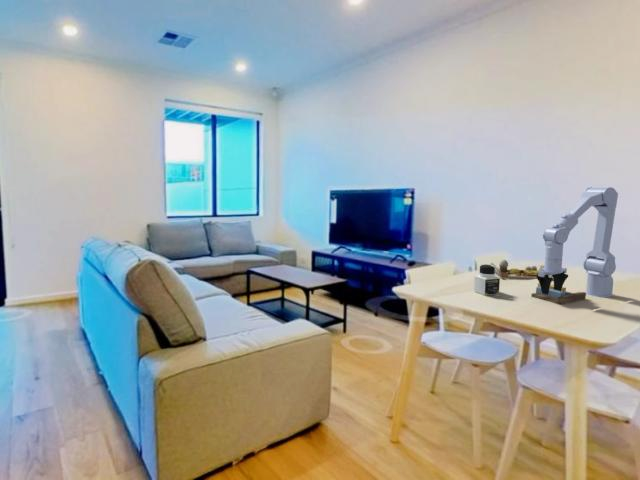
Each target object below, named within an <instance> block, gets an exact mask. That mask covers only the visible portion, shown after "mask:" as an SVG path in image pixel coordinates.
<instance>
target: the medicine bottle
mask: <svg viewBox="0 0 640 480" xmlns="http://www.w3.org/2000/svg"><path fill="white" fill-rule="evenodd" d="M495 266H496V265H495ZM495 266H493V265H491V264H481V265H480V266H479V274H476V275H474V284H473V285H474V286H473V291H474V293H477V294H480V295H482V296H485V297H486V296H494V295H495V296H497V295H498V294H499V293H500V280H501V279H500V278H501V277H498V276H496V272H495V269H496V268H495Z"/></svg>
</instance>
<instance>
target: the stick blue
mask: <svg viewBox="0 0 640 480" xmlns="http://www.w3.org/2000/svg"><path fill="white" fill-rule="evenodd" d="M566 292H567V291H566ZM566 292H562V291H558V290H554V289H549V293H548V295H546V294H542V291H541V287H538V286H537V287H536V288H535V293H536V294H540V295H544V296H548V297H552V298H556V299H558V297H562V296H563V295H566Z"/></svg>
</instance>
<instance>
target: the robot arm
mask: <svg viewBox="0 0 640 480" xmlns="http://www.w3.org/2000/svg"><path fill="white" fill-rule="evenodd" d="M618 198H619V192H617V190H616V189H615V188H614V187H611V186H610V187H587V188H585V190H584V191H583V192H582V193H581V198H580V199H579V200H578V202H577V203H576V205H575V206H574V207H573V209H571V211H570V212H569V213H564V214H561V216H560V218H559V219H558V220H557V221H556V222H555V223H554V225H553V226H552V227H548V228H547V229H546V230H545V231H544V232H543V234H542V239H543V240H544V245H545V255H544V266H545V268H542V270H541V271H539V272H538V275H537V279H536V280H537V281H538V283H540V286H541V291H542V294H546V295H548V293H549V288H550V284H552V281H553V285H554V290H558V291H561V289H562V287H564V283H565V282H566V281H567V278H568V277H569V274H567V271H568V270H567V268H565V267H563V266H562V265H563V255H564V254H563V253H564V252H563V251H564V243H566V242H567V241H568V238H569V235H570V232H571V231H572V230H573V229H574V228H575V227H576V226H577V225H578V224H579V218H580V217H581V216H583V214H584V213H586V212H587V211H588V210H589V209H590V208H591V207H592V208H595V210H597V212H598V213H597V220H596V225H595V226H596V227H595V231H594V239H593V240H594V241H593V247H592V250H590V251H588V252H587V253H586V256H585V259H584V261H583V264H582V266H583V269H584V270H585V272H586V274H587V278H586V290H585V291H584V292H585V293H586V296H591V297H595V298H599V299H601V298H602V299H603V298H607V297H612V296H615V294H614V293H613V290H614V289H613V288H614V278H613V276H612V275H613V274H614V273H615V271H616V268H617V266H616V257H615V255H614V254H613V253H611V252H610V248H611V240H612V234H613V227H614V224H615V223H614V221H615V215H616V208H617V204H618ZM549 275H552V276H553V277H552V278H550V277H548V276H549Z"/></svg>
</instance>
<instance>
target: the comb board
mask: <svg viewBox="0 0 640 480" xmlns="http://www.w3.org/2000/svg"><path fill="white" fill-rule="evenodd" d="M585 292H586V291H584V292H581V291H577V292H571V291H566V295H563V296H562V297H558V299H556V298H552V297H548V296H544V295H540V294H536V292H533V293H531V295H530V296H531V298H535V299H539V300H543V301H546V302H549V303H553V304H557V305H565V304H569V303H573V302H578V301H582V300H586V296H587V295H586V293H585Z"/></svg>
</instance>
